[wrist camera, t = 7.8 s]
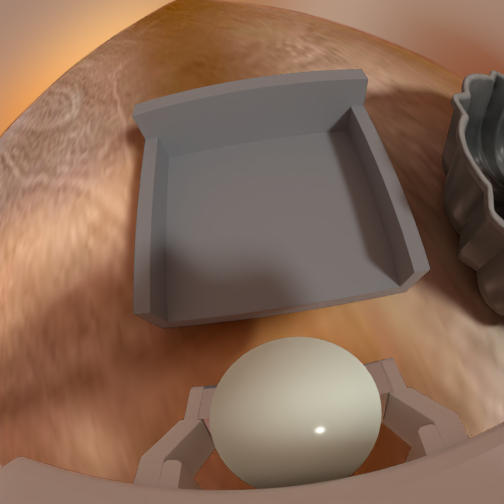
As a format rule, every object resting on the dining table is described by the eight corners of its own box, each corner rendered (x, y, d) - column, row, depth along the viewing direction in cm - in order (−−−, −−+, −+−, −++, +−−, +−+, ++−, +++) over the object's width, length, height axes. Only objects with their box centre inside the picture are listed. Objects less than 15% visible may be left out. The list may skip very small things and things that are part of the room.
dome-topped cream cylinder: (343, 425, 14) (386, 478, 6) (258, 437, 14) (221, 499, 6) (332, 344, 15) (368, 322, 8) (248, 357, 16) (200, 347, 8)
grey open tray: (405, 291, 22) (449, 249, 15) (162, 328, 23) (109, 301, 16) (352, 132, 29) (361, 69, 22) (164, 162, 30) (134, 104, 23)
